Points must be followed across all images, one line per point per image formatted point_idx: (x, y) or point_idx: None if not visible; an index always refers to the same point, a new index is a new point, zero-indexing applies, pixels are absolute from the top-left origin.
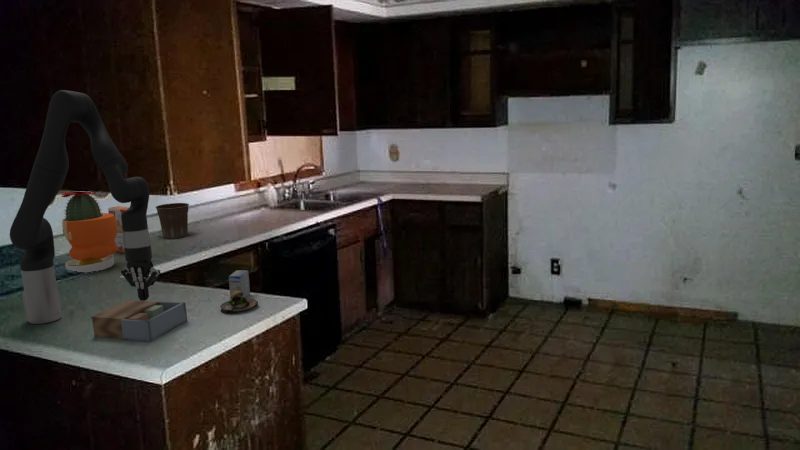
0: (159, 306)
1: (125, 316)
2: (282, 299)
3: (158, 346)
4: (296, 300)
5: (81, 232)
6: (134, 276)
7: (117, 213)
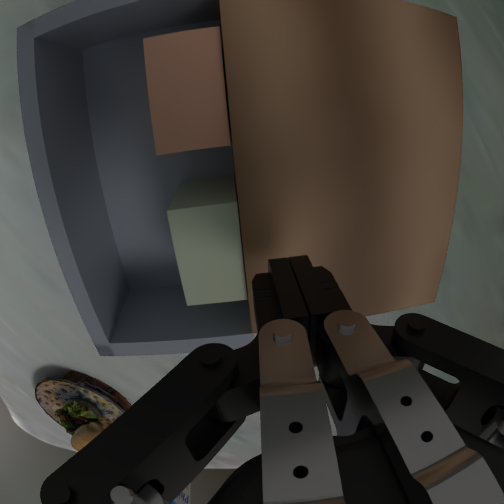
0: (194, 287)
1: (244, 29)
2: (64, 443)
3: (14, 36)
4: (38, 437)
5: None
6: (411, 418)
7: None
